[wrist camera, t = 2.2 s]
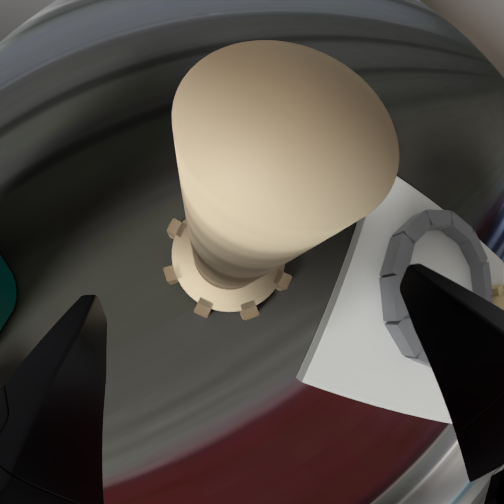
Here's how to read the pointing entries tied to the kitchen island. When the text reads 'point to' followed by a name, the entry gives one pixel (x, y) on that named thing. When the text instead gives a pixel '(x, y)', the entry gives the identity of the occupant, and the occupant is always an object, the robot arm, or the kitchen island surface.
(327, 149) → the disc
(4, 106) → the kitchen island surface
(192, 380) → the kitchen island surface
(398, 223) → the gear board
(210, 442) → the kitchen island surface
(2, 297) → the pitcher
